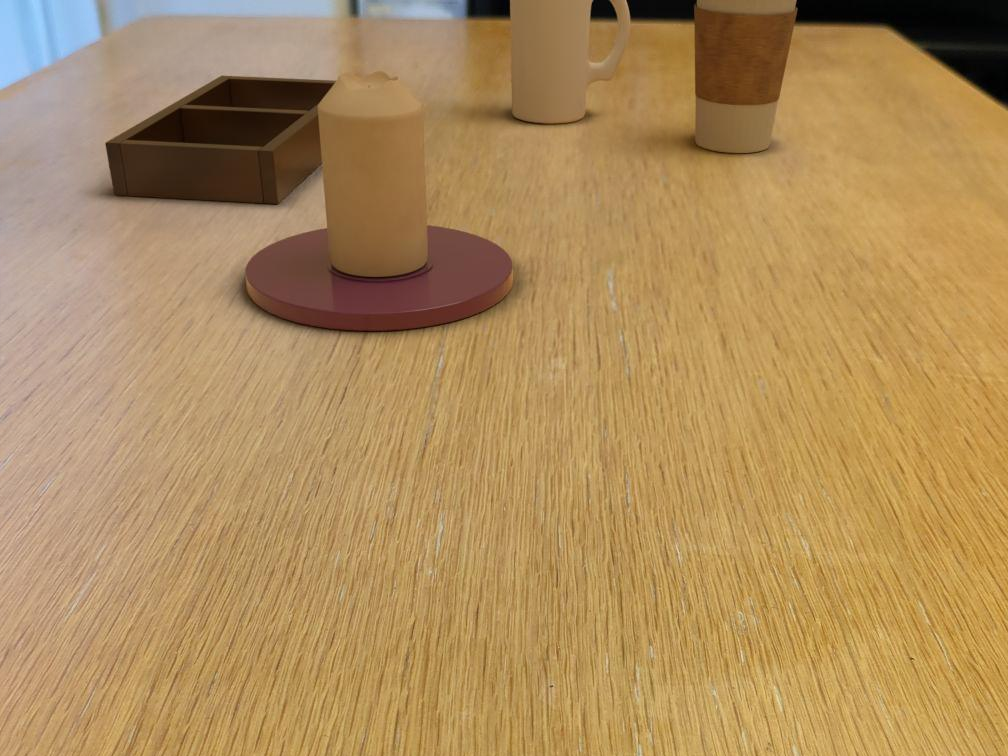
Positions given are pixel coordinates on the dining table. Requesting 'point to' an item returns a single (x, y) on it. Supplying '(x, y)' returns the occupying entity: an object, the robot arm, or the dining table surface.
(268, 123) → the divided wooden tray
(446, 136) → the dining table surface
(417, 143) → the candle
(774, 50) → the coffee cup
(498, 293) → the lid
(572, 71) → the mug
